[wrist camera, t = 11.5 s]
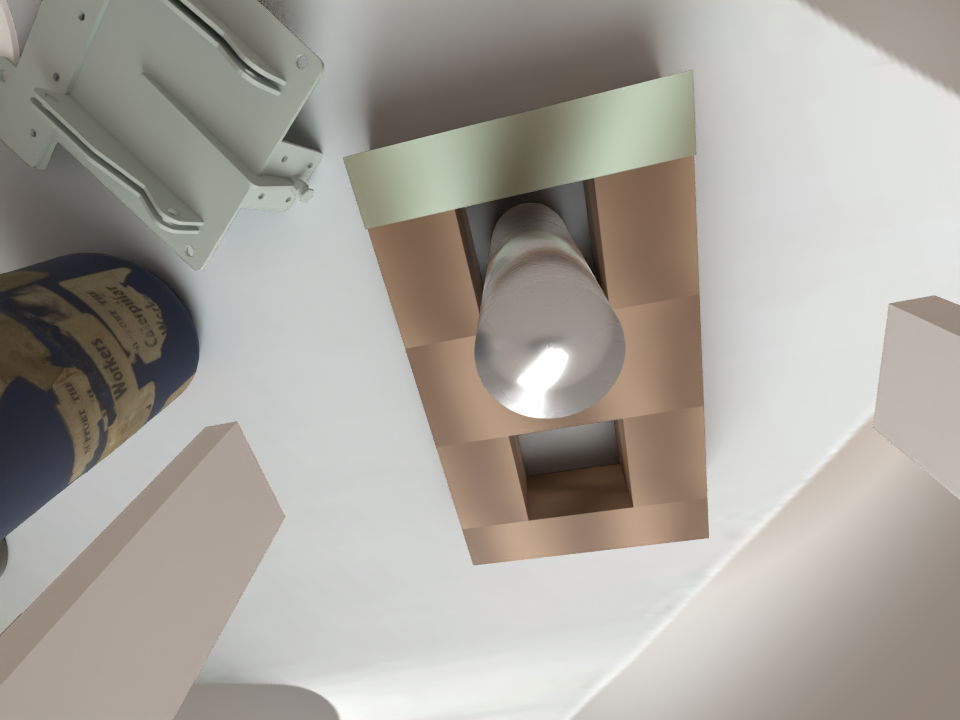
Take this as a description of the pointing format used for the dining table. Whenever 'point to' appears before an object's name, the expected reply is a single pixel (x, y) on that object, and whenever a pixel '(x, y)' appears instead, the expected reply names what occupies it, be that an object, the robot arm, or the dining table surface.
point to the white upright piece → (8, 36)
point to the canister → (81, 370)
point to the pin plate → (622, 277)
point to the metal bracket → (167, 108)
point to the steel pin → (544, 320)
